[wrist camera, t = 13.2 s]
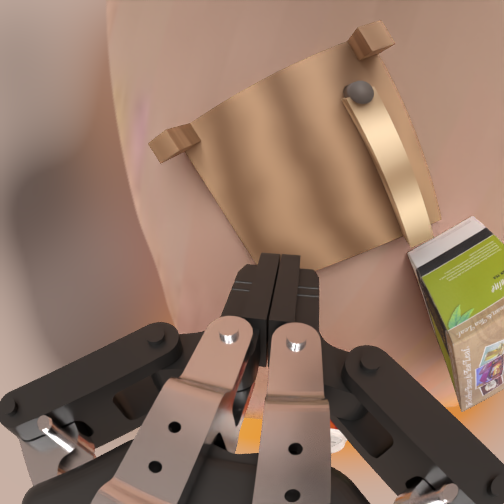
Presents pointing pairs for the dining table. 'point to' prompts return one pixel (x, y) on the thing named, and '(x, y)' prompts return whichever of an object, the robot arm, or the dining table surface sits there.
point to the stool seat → (303, 157)
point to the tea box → (466, 306)
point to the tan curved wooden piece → (389, 160)
